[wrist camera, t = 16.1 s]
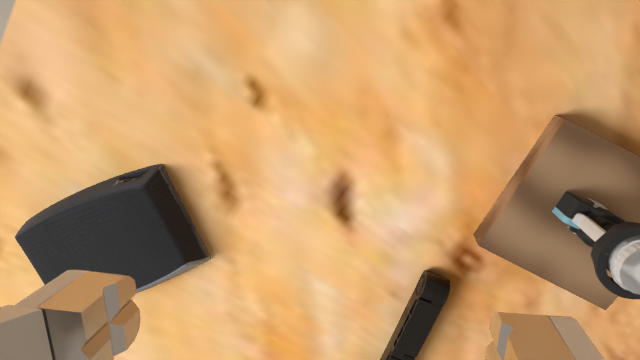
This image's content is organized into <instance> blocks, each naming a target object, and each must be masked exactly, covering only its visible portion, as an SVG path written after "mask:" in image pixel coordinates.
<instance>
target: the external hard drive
mask: <svg viewBox="0 0 640 360" xmlns="http://www.w3.org/2000/svg"><path fill="white" fill-rule="evenodd" d="M15 238H16V240H17V242H18V243H19V245H20V246H21V248H22V249H23V251H24V252H25V254H26V256H27V257H28V259H29V260H30V262H31V263H32V265H33V267H34V268H35V270H36V271H37V273H38V274H39V276H40V278H41V279H42V281H43V283H44V284H45V285H46V284H47V283H49V282H50V281H52V280H53V279H55V278H56V277H58V276H59V275H61V274H62V273H64V272H65V271H67V270H84V271H91V272H101V273H110V274H118V275H127V276H130V277H132V278H133V279H134V280H135V284H136V290H137V293H138V292H141V291H143V290H146V289H148V288H151V287H153V286H156V285H158V284H160V283H163V282H165V281H167V280H169V279H171V278H174V277H176V276H178V275H180V274H182V273H184V272H186V271H188V270H190V269H192V268H194V267H196V266H198V265H200V264H202V263H204V262H206V261H207V260H209V259H210V255H209V253H208V251H207V249H206V248H205V246H204V244H203V242H202V240H201V238H200V236H199V234H198V232H197V230H196V229H195V226H194V225H193V223H192V221H191V219H190V217H189V215H188V213H187V211H186V209H185V207H184V205H183V203H182V201H181V200H180V197H179V196H178V194H177V192H176V190H175V188H174V186H173V184H172V182H171V180H170V178H169V176H168V175H167V173H166V171H165V169H164V167H163V165H162V164H160V165H153V166H149V167H145V168H142V169H138V170H135V171H132V172H129V173H125V174H123V175H120V176H117V177H114V178H111V179H108V180H106V181H103V182H101V183H98V184H96V185H93V186H91V187H88V188H86V189H84V190H81V191H79V192H77V193H75V194H73V195H71V196H69V197H67V198H65V199H63V200H61V201H59V202H57V203H55V204H53V205H51V206H50V207H48V208H46V209H44V210H43V211H41V212H40V213H38V214H36V215H35V216H33V217H32V218H31V219H29V220H28V221H27V222H26V223H25V224H24V225H23V226H22V227H21V229H20V230H19V231H18V233H17V234H16V236H15Z"/></svg>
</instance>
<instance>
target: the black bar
mask: <svg viewBox="0 0 640 360" xmlns="http://www.w3.org/2000/svg"><path fill="white" fill-rule="evenodd" d="M449 290H450V281H449V280H448V279H446V278H443V277H441V276H438V275H436V274H433V273H430V272H428V271H424V272H423V273H422V275H421V278H420V280H419V282H418V284H417V286H416V288H415V290H414V292H413V294H412V296H411V298H410V300H409V302H408V304H407V306H406V308H405V310H404V312H403V314H402V316H401V318H400V320H399V323H398V325H397V327H396V329H395V331H394V333H393V335H392V337H391V339H390V341H389V343H388V345H387V347H386V349H385V351H384V353H383V355H382V357H381V359H380V360H415V358H416V357H417V355H418V353H419V351H420V349H421V347H422V346H423V344H424V342H425V340H426V338H427V336H428V334H429V332H430V330H431V328H432V326H433V325H434V323H435V321H436V319H437V317H438V315H439V313H440V311H441V309H442V307H443V306H444V304H445V302H446V300H447V297H448V294H449Z"/></svg>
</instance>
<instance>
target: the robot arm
mask: <svg viewBox="0 0 640 360" xmlns="http://www.w3.org/2000/svg"><path fill="white" fill-rule="evenodd" d="M136 293H137V290H136V284H135V280H134V279H133V278H132V277H130V276H127V275H118V274H110V273H101V272H91V271H84V270H67V271H65V272H64V273H62V274H61V275H59V276H58V277H56V278H55V279H53V280H52V281H50V282H49V283H47V284H46V285H44V286H43V287H41V288H40V289H38V290H37V291H35V292H34V293H32V294H31V295H29V296H28V297H26V298H25V299H23V300H22V301H20V302H19V303H17V304H16V305H14V306H12V305H7V306H4V307H0V360H114V356H115V355H117V354H119V353H121V352H123V351H125V350H127V349H128V348H129V346H130V345H131V344H132V343H133V342H134V340H135V338H136V335H137V333H138V331H139V327H140V311H139V308H138V307H137V306H136V304H135V303H134V302H133V301H132V300H133V298H134V297H135V295H136ZM489 329H490V332H491V335H492V338H493V342H491V343H490V344H489V345H488V346H487V347H486V355H485V360H605V359H604V358H603V356H602V355H601V354H600V352H599V351H598V350H597V348H596V347H595V345H594V344H593V343H592V341H591V340H590V338H589V337H588V336H587V334H586V333H585V331H584V330H583V329H582V327H581V326H580V324H579V323H578V322H577V320H576V319H574V318H572V317H564V316H548V315H531V314H517V313H504V312H493V315H492V317H491V322H490V328H489Z"/></svg>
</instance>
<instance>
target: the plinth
mask: <svg viewBox="0 0 640 360" xmlns="http://www.w3.org/2000/svg"><path fill="white" fill-rule="evenodd" d="M566 191H567V192H569V193H571V194H574V195H575V196H577V197H578V198H580V199H581V200H583V201H584V202H586V203H587V204H589V205H591V206H593V205H594V203H593V202H591V201H590V200H589V199H588V198H590V199H592V200H594V201H596V202H598V203H600V204H601V205H603V206H604V207H606V208H607V210H608V211H610V212H612V213H613V214H614V215H616V216H618V217H620V218H622V219H623V220H625V221H626V222H636V223H640V156H638V155H636V154H634V153H632V152H630V151H628V150H626V149H624V148H622V147H620V146H618V145H616V144H614V143H612V142H610V141H608V140H606V139H604V138H602V137H600V136H598V135H596V134H594V133H592V132H590V131H588V130H586V129H584V128H582V127H580V126H578V125H576V124H574V123H573V122H571V121H569V120H567V119H564V118H561V117H558V116H556V115H555V116H554V117H553V119H552V120H551V122H550V123H549V125H548V126H547V128H546V129H545V130H544V132H543V133H542V135H541V136H540V138H539V139H538V141H537V142H536V144H535V145H534V147H533V148H532V149H531V151H530V152H529V154H528V155H527V157H526V158H525V160H524V161H523V163H522V164H521V166H520V167H519V169H518V170H517V171H516V173H515V174H514V176H513V177H512V179H511V180H510V182H509V183H508V185H507V186H506V188H505V189H504V191H503V192H502V193H501V195H500V196H499V198H498V199H497V201H496V202H495V204H494V205H493V207H492V208H491V210H490V211H489V212H488V214H487V215H486V217H485V218H484V220H483V221H482V223H481V224H480V226H479V227H478V229H477V230H476V232H475V233H474V234H473V235H474V237H475V239H476V241H477V243H478V245H479V246H480V247H482V248H484V249H486V250H488V251H490V252H492V253H494V254H496V255H498V256H500V257H502V258H504V259H506V260H508V261H510V262H512V263H514V264H516V265H518V266H520V267H522V268H524V269H526V270H528V271H529V272H531V273H533V274H535V275H537V276H539V277H541V278H543V279H545V280H547V281H549V282H551V283H553V284H555V285H557V286H559V287H561V288H563V289H565V290H567V291H569V292H571V293H573V294H575V295H577V296H579V297H581V298H583V299H585V300H587V301H589V302H591V303H593V304H595V305H597V306H599V307H601V308H602V309H604V310H606V309H607V308H608V307H609V306H610V305H611V304H612V303H613V301H614V300H615V299H616V298H617V297H618V295H615V294H613V293H612V292H610V291H609V290H608V289H606V288H605V287H604V286H603V285H602V283H601V282H600V281H599V279H598V278H597V275H596V273H595V268H594V264H593V261H592V258H591V251H592V247H590V246H588V245H586V244H585V243H584V242H583V241H582V240H581V239H580V238H579V237H578V236H577V234H575V233H573V232H571V231H570V230H569V228H568V226H569V227H570V225H568V224H566V223H564V222H563V221H561V220H560V219H559V218H558V217H557V216H556V215H555V214H554V213H553V212H552V210H553V209H554V208H555V206H556V205H557V203H558V202H559V200H560V199H561V198H562V196H563V195H564V193H565V192H566ZM607 274H608V276H609V277H612V274H611V273H610V272H609V271H608V270H607ZM612 278H613V277H612Z"/></svg>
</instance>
